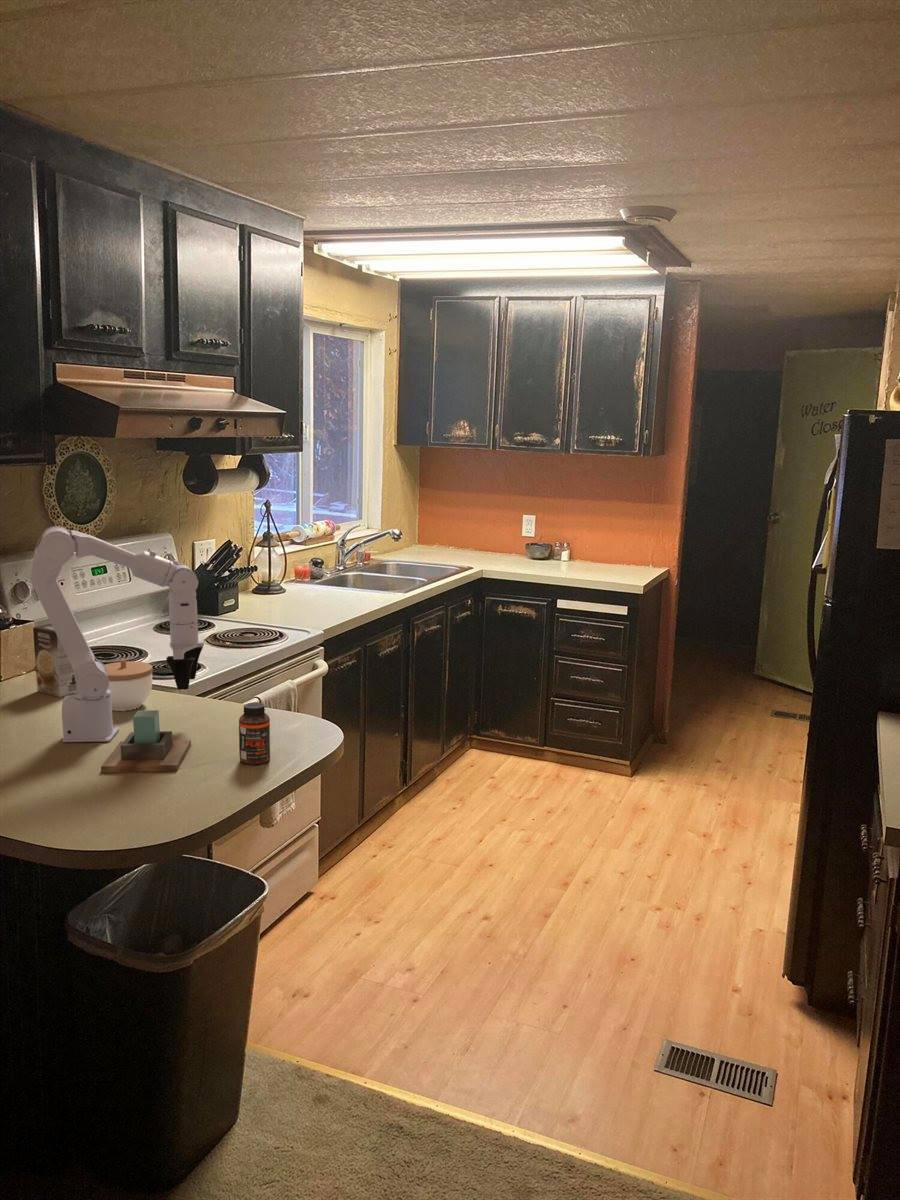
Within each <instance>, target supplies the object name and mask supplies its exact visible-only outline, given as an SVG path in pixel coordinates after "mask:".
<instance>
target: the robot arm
mask: <svg viewBox="0 0 900 1200" xmlns="http://www.w3.org/2000/svg"><path fill="white" fill-rule="evenodd" d="M33 553H34V555H33V559H32V564H31V569H30V574H29V581H30V583H31V585H32V587H33V589H34V591H35V593H36V596H37V598H38V600H39V602H40V604H41V606H42V607H43V610H44V611H45V614H46V616H47V618H48V620H49V622H50V624H52V626H53V628H54V630H55V632H56V634H57V636H58V638H59V640H60V642H61V644H62V646H63V648H64V650H65V652H66V654H67V656H68V658H69V661H70V664H71V666H72V669H73V671H74V673H75V679H76V688H77V690H76V692H74V693H73V694H69V695H66V696H64V698H63V701H62V704H61V719H62V734H63V735H62V736H63V737H62V738H63V739H62V742H63V743H86V742H87V743H90V742H92V743H93V742H95V743H97V742H99V743H100V742H110V741H111V740H112V738H114V736H115V735H116V734H117V733H118V731H120V727H116V726H115V727H114V722H113V710H112V703H111V691H110V690H109V689H108V687H109V679H108V677H107V675H106V674H107V673H106V668H105V666H104V665H105V664H104V663H103V662H102V661H100V660H99V659H98V658H97V657H96V656H95V655H94V651H92V649H91V647H90V646H89V643H88V642H87V640H86V638H85V635H84V633H83V631H82V629H81V627H80V625H79V622H78V621H77V619H76V617H75V614H74V613H73V610H72V608H71V606H70V604H69V601H68V600H67V598H66V596H65V593H64V592H63V589H62V588H61V586H60V584H59V582H58V577H59V576H60V575H59V574H60V573H61V571H62V568H63V567H64V565H65V564H66V563H68V562H69V561H70V560H71V559H72V557H73V556H74V554H75V555H76V558H77V559H80V558H84V557H90V556H93V557H96V558H100V559H102V560H105V561H108V562H111V563H113V564H117V565H120V566H123V567H125V568H128V569H130V572H131V574H132V576H133V577H135V578H137V579H140V580H143V581H145V582H147V583H148V582H149V583H151V584H153V585H155V586H157V587H158V586H159V587H161V588H165V587H169V590H168V591H169V592H168V593H169V601H168V614H169V615H168V616H169V635H170V642H169V647H170V648H171V650H172V655H169V656H167V657H166V659H165V660H166V663H167V665H168V666H169V668H170V669H171V672H172V673H173V674H172V675H173V678H174V681H175V685H176V688H177V690H188V689H189V686H190V680H195V678H196V675H197V669H198V663H199V659H200V655H201V653H202V650H203V648H204V646H205V641H203V640H199V625H198V624H199V622H198V601H197V591H196V590H197V589H198V586H199V580H198V577H197V575H196V573H195V572H194V571H193V570H192V568H190V567H189V566H187V565H186V564H184V563H182V562H181V563H179V561H178V560H175V559H173V560H169V559H168V558H164V557H163V556H158V555H157V552H156V551H155V550H152V549H149V551H147V550H142V551H140V552H137V553H134V552H132V551H129V550H127V549H126V548H122V547H120V546H117V545H115V544H112V543H110V542H108V541H105V540H103V539H101V538H98V537H95V536H94V535H91V534H88V533H84V532H81V531H78V530H72V529H70V530H69V529H67V528H65V527H63V526H59V525H58V526H57V525H56V526H55V525H54V526H51V527H48V528H46V529H45V530H44V531H43V533H42V534H41V536H40V537H39V539H38V541H37V543H36V545H35V548H34V552H33Z"/></svg>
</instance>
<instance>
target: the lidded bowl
mask: <svg viewBox="0 0 900 1200" xmlns="http://www.w3.org/2000/svg"><path fill="white" fill-rule="evenodd" d="M104 666H105V668H106V673H107V674H106V675H107V677H108V679H109V687H108V689H109V690H110V691H111V703H112V711H115V712H116V711H117V712H127V711H126V710H129V711H133V710H132V709H134V710H137V709H140V708H141V707H142V706H143V704H144V703H145V702H146V701H147V700H148V697H149V696H150V694H151V691H152V689H153V665H152V664H150V663H147V662H143V661H135V660H134V661H129V660H128V661H127V660H126V659H125V658H123V659H120V661H117V662H110V663H106V664H104ZM141 705H142V706H141ZM140 706H141V707H140ZM139 707H140V708H139ZM136 708H137V709H136Z"/></svg>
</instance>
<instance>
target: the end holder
mask: <svg viewBox="0 0 900 1200" xmlns="http://www.w3.org/2000/svg"><path fill="white" fill-rule="evenodd" d="M191 747H192V741H191V740H188V739H187V740H173V731H172V730H169V731H168V730H167V731H166V730H165V731H162V730H160V743H138V744H135V743H134V731H130V733H129V734H128V735H127V736H126V737H125V739H124V740H123V741H119V742H118V744H117V745H116V746H115V748H114V749H113V750H112V752H111V753H110V754H109V755H108V757H107V758H106V759H105V760H104V762H103V763H102V765H101V766H100V773H136V772H135V771H141V772H140V773H143V772H142V771H145V772H147V771H149V773H150V772H178V770H179V768H180V766H181V765H182V763H183V761H184V760H185V757H187V755H188V753H189V751H190V749H191ZM188 750H189V751H188ZM126 771H127V772H126ZM128 771H130V772H128ZM133 771H134V772H133Z"/></svg>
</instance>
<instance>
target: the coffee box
mask: <svg viewBox="0 0 900 1200" xmlns="http://www.w3.org/2000/svg"><path fill="white" fill-rule="evenodd" d="M32 632H33V633H32V634H33V643H34V644H33V645H34V646H33V647H34V661H35V662H34V664H35V674H36V675H35V676H36V678H35V679H36V689H37V692H40V693H44V694H48V695H51V696H53V697H58V698H62V697H66V696H70V695H74V692H76V690H77V688H76V679H75V673H74V671H73V669H72V666H71V664H70V661H69V658H68V656H67V654H66V652H65V650H64V648H63V646H62V644H61V642H60V640H59V638H58V636H57V634H56V632H55V630H54V628H53V626H52V624H51V623H47V624H43V625H38V626H37V625H36V626H33V627H32Z"/></svg>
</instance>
